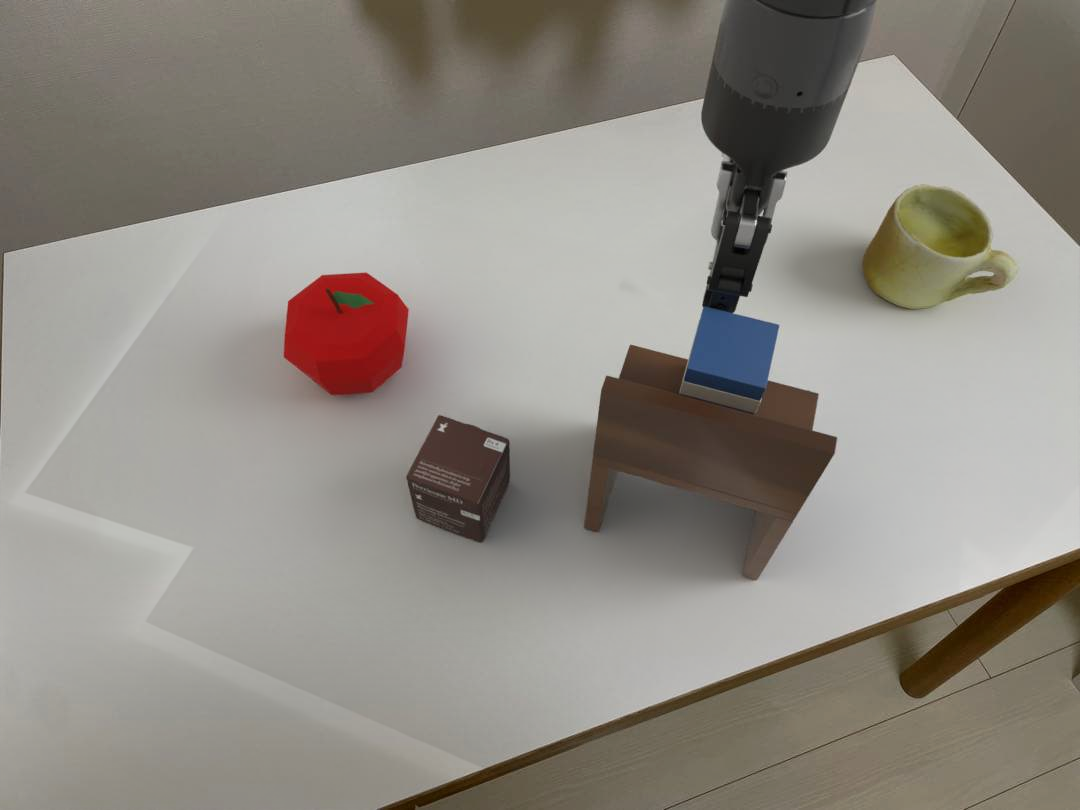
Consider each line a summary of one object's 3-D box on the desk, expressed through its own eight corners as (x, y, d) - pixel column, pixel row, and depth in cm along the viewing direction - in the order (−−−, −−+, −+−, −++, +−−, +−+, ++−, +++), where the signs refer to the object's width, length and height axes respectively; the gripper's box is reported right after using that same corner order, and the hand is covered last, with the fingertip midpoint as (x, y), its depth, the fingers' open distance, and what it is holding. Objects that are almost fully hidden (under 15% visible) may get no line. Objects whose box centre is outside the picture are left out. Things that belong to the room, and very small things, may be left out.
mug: (825, 262, 81) (897, 185, 73) (874, 236, 87) (946, 163, 79) (916, 357, 78) (1001, 287, 70) (961, 324, 84) (1043, 256, 76)
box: (414, 519, 68) (402, 476, 62) (445, 458, 71) (437, 412, 65) (483, 545, 67) (478, 504, 61) (512, 482, 70) (510, 437, 64)
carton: (687, 361, 61) (703, 304, 55) (757, 379, 61) (780, 323, 55) (671, 420, 59) (685, 368, 53) (743, 439, 58) (766, 389, 52)
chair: (616, 427, 73) (641, 271, 56) (778, 472, 71) (855, 323, 54) (583, 528, 68) (600, 390, 51) (757, 581, 65) (835, 453, 49)
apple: (275, 394, 74) (243, 323, 66) (328, 305, 80) (304, 229, 71) (387, 426, 73) (368, 357, 64) (432, 332, 78) (421, 258, 70)
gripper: (850, 157, 41) (770, 352, 55) (859, -8, 49) (786, 200, 62) (697, 132, 42) (656, 330, 56) (729, -26, 50) (685, 183, 63)
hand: (725, 261), depth 59 cm, fingers open, 8 cm apart
